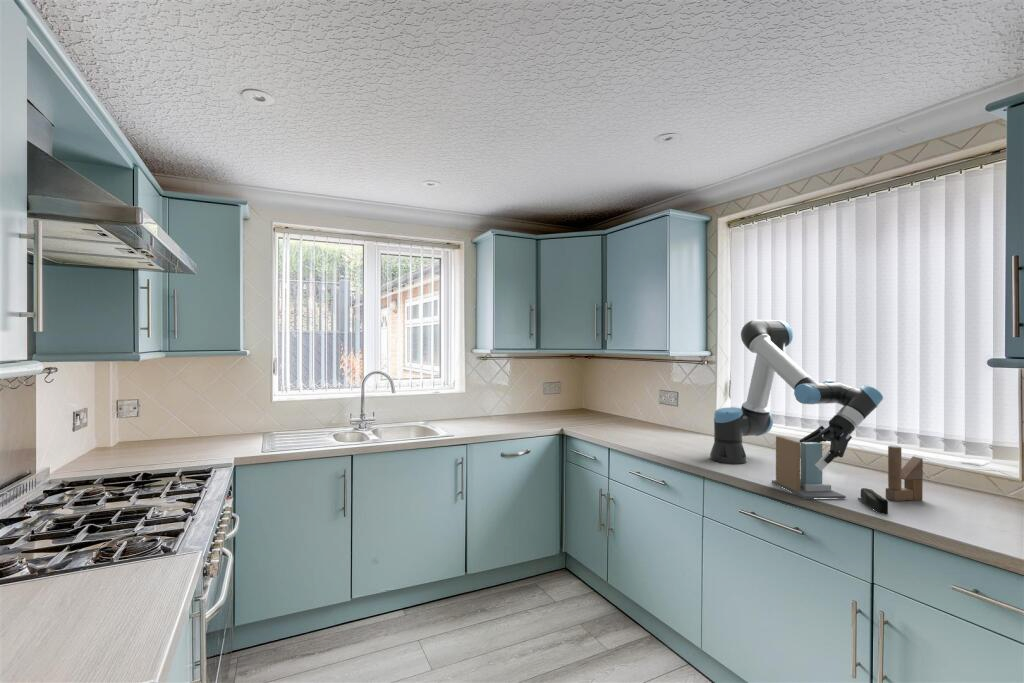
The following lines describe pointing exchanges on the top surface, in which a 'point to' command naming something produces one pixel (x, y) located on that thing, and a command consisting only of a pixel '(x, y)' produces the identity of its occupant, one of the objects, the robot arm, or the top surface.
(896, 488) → the wooden block
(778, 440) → the stand
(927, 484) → the top surface
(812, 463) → the door panel
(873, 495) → the black stapler
